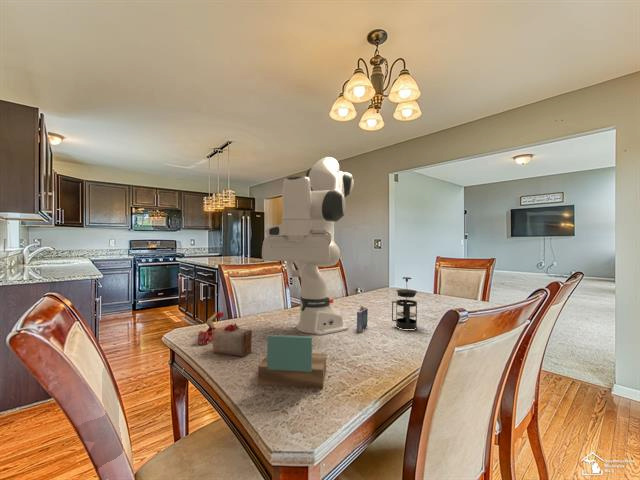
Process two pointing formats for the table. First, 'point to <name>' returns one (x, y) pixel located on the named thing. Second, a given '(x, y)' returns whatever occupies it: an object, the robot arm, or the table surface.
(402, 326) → the french press
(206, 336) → the toy fire truck
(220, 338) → the grey paint-stained brick
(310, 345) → the teal rectangular block
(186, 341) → the table surface
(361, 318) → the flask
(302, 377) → the brown wooden block
